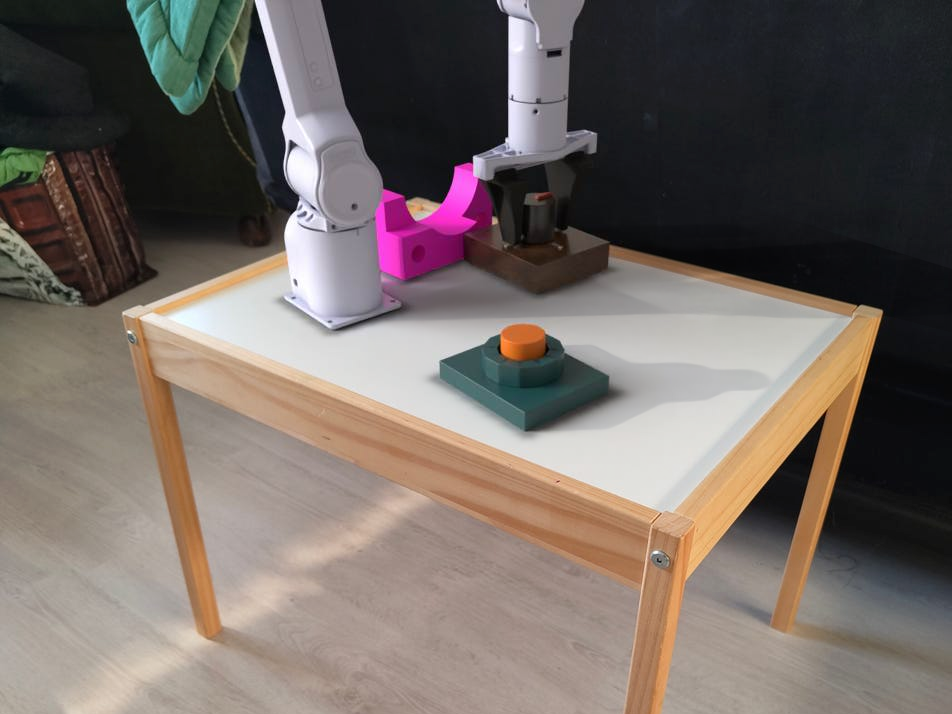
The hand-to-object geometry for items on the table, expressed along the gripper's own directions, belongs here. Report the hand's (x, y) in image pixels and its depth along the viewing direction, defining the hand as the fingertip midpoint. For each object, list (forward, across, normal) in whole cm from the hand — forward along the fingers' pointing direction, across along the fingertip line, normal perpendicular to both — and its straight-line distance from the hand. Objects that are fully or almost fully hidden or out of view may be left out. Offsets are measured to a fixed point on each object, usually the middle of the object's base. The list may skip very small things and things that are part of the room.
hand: (535, 234), depth 94 cm
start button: (0, +18, +19) cm, 26 cm away
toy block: (+3, +6, -9) cm, 11 cm away
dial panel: (+3, 0, 0) cm, 3 cm away
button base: (+3, +18, +19) cm, 26 cm away
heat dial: (0, 0, 0) cm, 0 cm away
